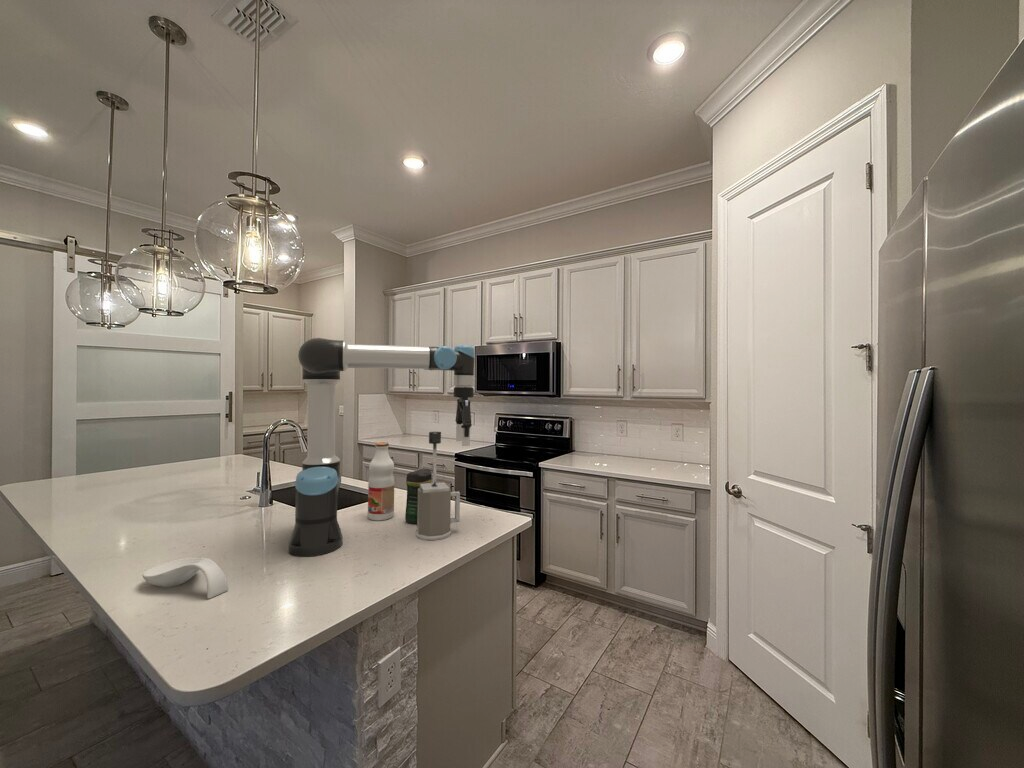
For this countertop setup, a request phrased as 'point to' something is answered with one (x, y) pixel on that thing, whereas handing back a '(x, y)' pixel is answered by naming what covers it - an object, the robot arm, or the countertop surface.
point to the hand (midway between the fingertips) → (462, 443)
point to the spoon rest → (188, 574)
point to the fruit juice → (381, 484)
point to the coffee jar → (415, 492)
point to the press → (436, 511)
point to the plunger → (434, 451)
